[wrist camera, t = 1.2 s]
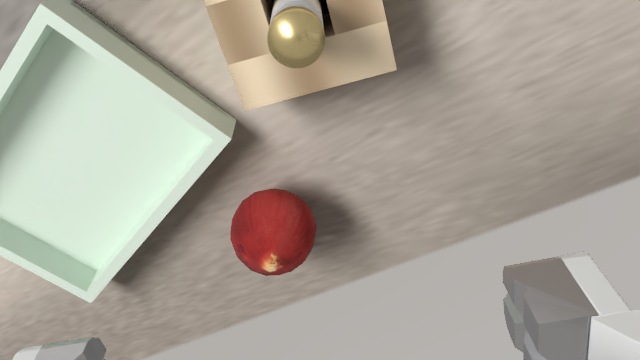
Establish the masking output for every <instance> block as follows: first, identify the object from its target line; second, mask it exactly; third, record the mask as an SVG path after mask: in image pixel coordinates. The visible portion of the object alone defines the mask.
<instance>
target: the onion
mask: <svg viewBox="0 0 640 360" xmlns="http://www.w3.org/2000/svg"><path fill="white" fill-rule="evenodd" d="M315 232H316V224H315V221H314V218H313V215H312V212H311V209H310V207H309V206H308V205H307V204H306V203H305V202H304V201H303V200H302V199H301V198H300V197H298V196H297V195H295V194H293V193H290V192H288V191H286V190H278V189H269V190H263V191H258V192H255V193H253V194H252V195H250V196H249V197H248V198H246V199H245V200H243V201H242V203H241V204H240V206H239V207H238V209H237V211H236V212H235V214H234V217H233V219H232V225H231V242H232V244H233V247H234V250H235V252H236V255H237V257H238V258H239V259H240V260H241V261H242V262H243V263H244V264H245V265H246V266H247V267H248V268H249V269H250V270H252V271H254V272H257V273H260V274H263V275H266V276H268V275H280V274H284V273H287V272H291V271H292V270H294V269H295V268H297V267H298V266H299V265H301V264H302V263H303V262H304V261H305V260H306V258H307V256H308V255H309V253H310V251H311V249H312V247H313V245H314V239H315Z"/></svg>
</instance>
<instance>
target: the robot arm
mask: <svg viewBox="0 0 640 360" xmlns="http://www.w3.org/2000/svg"><path fill="white" fill-rule="evenodd" d="M503 283H504V285H505V287H506V289H507V291H508V294H507V296H506V297H505V298H504V314H505V319H506V324H507V327H508V330H509V334H510V337H511V339H512V341H513V343H514V345H515V348H517V349H518V350H520V351H522V352H523V353H524V360H640V309H637V310H631V309H630V308H629V307H628V306H627V304H626V303H625V302H624V300H623V299H622V298H621V297H620V295H619V294H618V292H617V291H616V290H615V289H614V287H613V286H612V285H611V284H610V282H609V281H608V279H607V278H606V277H605V276H604V274H603V273H602V272H601V270H600V269H599V268H598V266H597V265H596V264H595V262H594V261H593V260H592V258H591V257H590V256H589V255H588V254H587V253H585V252H578V253H573V254H567V255H562V256H557V257H556V258H555V257H553V258H548V259H543V260H537V261H531V262H526V263H520V264H515V265H509V266H505V267H504V270H503ZM105 352H106V348H105V347H104V345H103V343H102V342H101V340H100V339H99V338H94V337H91V338H85V339H78V340H71V341H64V342H57V343H51V344H46V345H41V346H34V347H27V348H23V349H21V350H20V351H19V352H17V353H16V354H15V356H14V358H13V360H105V359H103V358H104V355H105Z"/></svg>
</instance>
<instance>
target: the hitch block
mask: <svg viewBox="0 0 640 360" xmlns="http://www.w3.org/2000/svg"><path fill="white" fill-rule="evenodd" d="M326 2H327V6H328V10H329V13H328V14H325V15H322V18H323V26H324V34H325V45H324V49H323V52H322V54H321V55H320V57H319V58H318V59H317V60H316V61H315V62H314V63H312V64H311V65H309V66H307V67H303V68H289V67H286V66H284V65H282V64H280V63H279V62H278V61H277V60H276V59H275V58H274V57H273V56H272V54H271V52H270V50H269V48H268V43H267V36H268V30H269V25H270V20H271V15H272V11H273V3H272V0H204V3H205V6H206V8H207V11H208V14H209V16H210V19H211V22H212V24H213V27H214V30H215V33H216V35H217V38H218V41H219V43H220V46H221V49H222V51H223V54H224V57H225V59H226V62H227V65H228V67H229V70H230V73H231V75H232V78H233V81H234V83H235V86H236V89H237V92H238V94H239V97H240V100H241V102H242V105H243V108H244V110H245V111H247V110H250V109H254V108H258V107H261V106H265V105H269V104H273V103H276V102H280V101H284V100H287V99H291V98H295V97H299V96H302V95H306V94H310V93H314V92H317V91H321V90H325V89H328V88H332V87H336V86H340V85H343V84H347V83H351V82H354V81H358V80H362V79H366V78H369V77H373V76H377V75H381V74H384V73H388V72H392V71H395V70H397V68H396V63H395V58H394V53H393V49H392V44H391V39H390V34H389V30H388V25H387V20H386V15H385V11H384V6H383V1H382V0H326Z"/></svg>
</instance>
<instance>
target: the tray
mask: <svg viewBox="0 0 640 360" xmlns="http://www.w3.org/2000/svg"><path fill="white" fill-rule="evenodd" d="M235 124H236V119H235V118H233V117H232V116H231V115H229V114H228V113H227V112H225V111H224V110H222V109H221V108H220V107H218V106H217V105H216V104H214V103H213V102H211V101H210V100H209V99H207V98H206V97H205V96H203V95H202V94H200V93H199V92H198V91H196V90H195V89H194V88H192V87H191V86H189V85H188V84H187V83H185V82H184V81H183V80H181V79H180V78H178V77H177V76H176V75H174V74H173V73H172V72H170V71H169V70H167V69H166V68H165V67H163V66H162V65H161V64H159V63H158V62H156V61H155V60H154V59H152V58H151V57H150V56H148V55H147V54H145V53H144V52H143V51H141V50H140V49H139V48H137V47H136V46H135V45H133V44H132V43H130V42H129V41H128V40H126V39H125V38H124V37H122V36H121V35H119V34H118V33H117V32H115V31H114V30H113V29H111V28H110V27H108V26H107V25H106V24H104V23H103V22H102V21H100V20H99V19H97V18H96V17H95V16H93V15H92V14H91V13H89V12H88V11H86V10H85V9H84V8H82V7H81V6H80V5H78V4H77V3H75V2H74V1H73V0H46V1H44V2H42V3H40V5H39V6H38V8H37V10H36V11H35V13H34V15H33V17H32V18H31V20H30V22H29V23H28V25H27V27H26V28H25V30H24V32H23V33H22V35H21V37H20V39H19V40H18V42H17V44H16V45H15V47H14V49H13V50H12V52H11V54H10V55H9V57H8V59H7V61H6V62H5V64H4V66H3V67H2V69H1V71H0V256H2V257H4V258H6V259H8V260H10V261H11V262H13V263H15V264H17V265H19V266H21V267H23V268H25V269H27V270H29V271H31V272H32V273H34V274H36V275H38V276H40V277H42V278H44V279H46V280H48V281H50V282H52V283H53V284H55V285H57V286H59V287H61V288H63V289H65V290H67V291H69V292H71V293H73V294H74V295H76V296H78V297H80V298H82V299H84V300H86V301H88V302H90V303H92V301H93V300H94V299H95V298H96V297H97V296H98V294H99V293H100V292H101V291H102V290H103V289H104V287H105V286H106V285H107V284H108V283H109V282H110V280H111V279H112V278H113V277H114V276H115V275H116V273H117V272H118V271H119V270H120V269H121V268H122V266H123V265H124V264H125V263H126V262H127V261H128V259H129V258H130V257H131V256H132V255H133V254H134V252H135V251H136V250H137V249H138V248H139V247H140V245H141V244H142V243H143V242H144V241H145V240H146V238H147V237H148V236H149V235H150V234H151V233H152V231H153V230H154V229H155V228H156V227H157V226H158V224H159V223H160V222H161V221H162V220H163V219H164V217H165V216H166V215H167V214H168V213H169V212H170V210H171V209H172V208H173V207H174V206H175V205H176V203H177V202H178V201H179V200H180V199H181V198H182V196H183V195H184V194H185V193H186V192H187V191H188V189H189V188H190V187H191V186H192V185H193V184H194V182H195V181H196V180H197V179H198V178H199V177H200V175H201V174H202V173H203V172H204V171H205V170H206V168H207V167H208V166H209V165H210V164H211V163H212V161H213V160H214V159H215V158H216V157H217V156H218V154H219V153H220V152H221V151H222V150H223V149H224V147H225V146H226V145H227V144H228V143H229V142H230V140H231V139H232V135H233V132H234V128H235Z"/></svg>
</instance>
